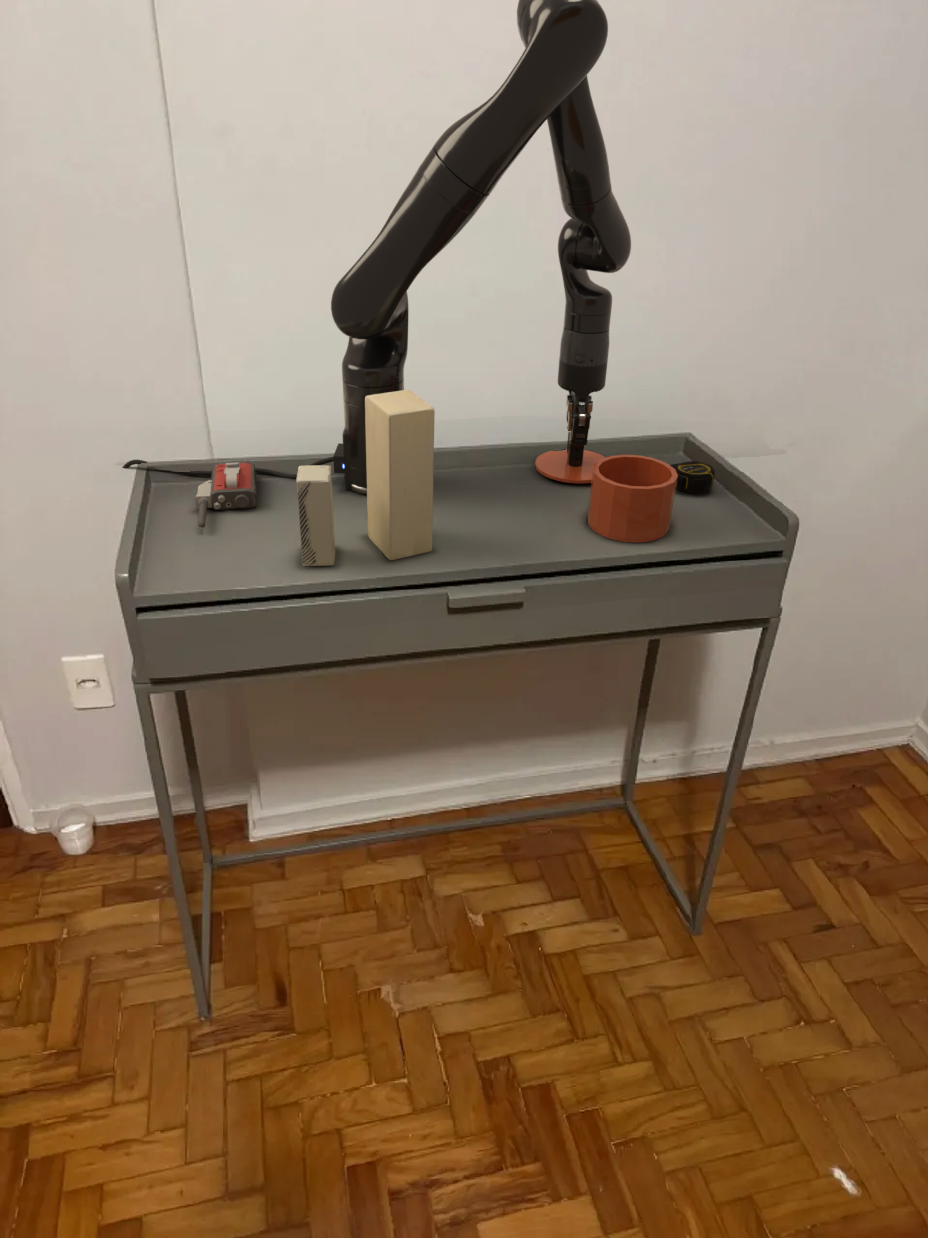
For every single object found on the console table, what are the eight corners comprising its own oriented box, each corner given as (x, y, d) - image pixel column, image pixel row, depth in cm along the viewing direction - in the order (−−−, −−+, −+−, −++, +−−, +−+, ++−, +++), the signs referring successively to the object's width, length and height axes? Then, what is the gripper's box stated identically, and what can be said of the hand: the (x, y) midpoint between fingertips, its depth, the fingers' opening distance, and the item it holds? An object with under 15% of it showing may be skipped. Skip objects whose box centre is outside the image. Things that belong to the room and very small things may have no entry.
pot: (591, 541, 134) (597, 486, 130) (585, 504, 144) (590, 453, 140) (674, 544, 134) (683, 489, 129) (662, 507, 144) (670, 456, 139)
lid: (536, 485, 150) (538, 448, 146) (533, 453, 161) (536, 418, 157) (617, 488, 150) (621, 450, 146) (609, 456, 161) (613, 421, 157)
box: (304, 549, 130) (297, 463, 123) (336, 548, 130) (331, 463, 123) (302, 568, 126) (295, 480, 119) (335, 567, 126) (329, 479, 119)
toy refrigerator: (438, 550, 131) (439, 406, 119) (390, 561, 128) (387, 415, 116) (413, 527, 136) (413, 387, 125) (367, 537, 134) (362, 395, 122)
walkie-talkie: (201, 477, 149) (194, 535, 133) (197, 451, 147) (190, 507, 130) (257, 474, 151) (257, 531, 134) (254, 449, 148) (254, 503, 132)
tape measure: (695, 477, 154) (698, 455, 152) (720, 493, 149) (724, 471, 147) (660, 483, 152) (663, 461, 150) (685, 500, 146) (688, 478, 144)
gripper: (612, 371, 139) (600, 478, 148) (603, 344, 151) (593, 443, 160) (562, 370, 139) (553, 476, 148) (557, 342, 151) (549, 442, 160)
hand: (574, 458), depth 154 cm, fingers open, 4 cm apart
